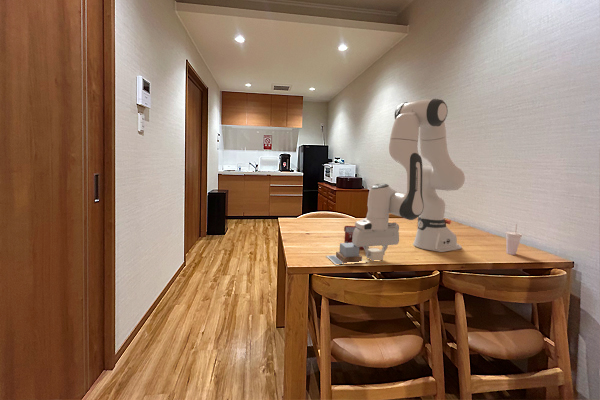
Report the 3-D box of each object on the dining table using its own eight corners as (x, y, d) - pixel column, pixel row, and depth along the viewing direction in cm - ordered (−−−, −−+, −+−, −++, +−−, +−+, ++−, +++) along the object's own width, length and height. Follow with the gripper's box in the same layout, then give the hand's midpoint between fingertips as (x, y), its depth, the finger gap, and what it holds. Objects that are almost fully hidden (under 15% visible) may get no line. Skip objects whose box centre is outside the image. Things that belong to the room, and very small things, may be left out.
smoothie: (514, 256, 144) (518, 226, 142) (499, 252, 150) (503, 223, 147) (522, 254, 147) (526, 225, 145) (508, 250, 153) (511, 222, 150)
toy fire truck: (371, 250, 147) (372, 228, 145) (344, 249, 147) (345, 227, 145) (368, 245, 154) (369, 224, 152) (342, 244, 154) (343, 223, 152)
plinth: (353, 255, 138) (353, 250, 138) (361, 261, 130) (362, 256, 130) (335, 256, 136) (336, 251, 135) (343, 262, 128) (343, 258, 128)
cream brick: (376, 257, 137) (376, 248, 137) (383, 260, 133) (383, 251, 132) (366, 258, 136) (366, 248, 135) (372, 262, 131) (373, 252, 130)
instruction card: (355, 254, 140) (355, 253, 140) (367, 263, 129) (367, 262, 129) (325, 256, 136) (325, 255, 136) (335, 265, 126) (335, 264, 125)
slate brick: (352, 251, 136) (353, 242, 136) (358, 256, 131) (359, 246, 130) (339, 252, 135) (340, 243, 134) (345, 257, 129) (345, 247, 128)
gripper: (395, 220, 138) (392, 251, 140) (351, 222, 132) (349, 254, 134) (403, 224, 132) (400, 256, 134) (358, 226, 126) (356, 259, 128)
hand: (374, 255), depth 134 cm, fingers closed on cream brick, 5 cm apart
